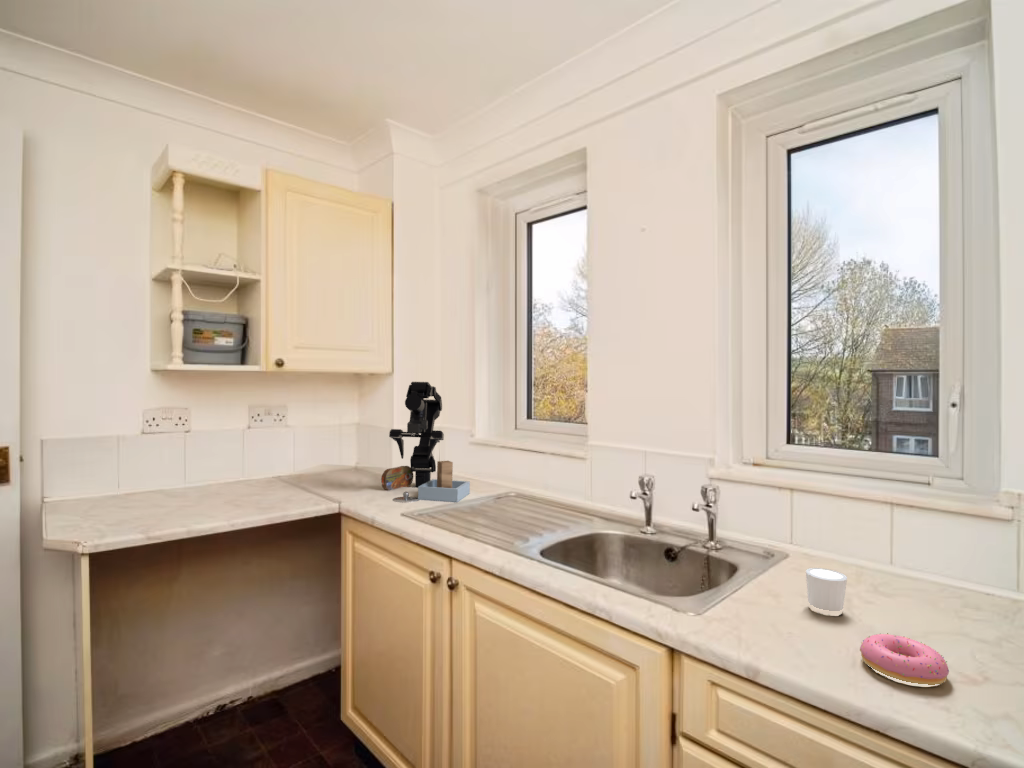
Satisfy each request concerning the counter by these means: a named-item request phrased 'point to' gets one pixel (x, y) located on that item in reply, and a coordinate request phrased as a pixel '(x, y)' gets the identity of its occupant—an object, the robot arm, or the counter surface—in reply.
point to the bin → (444, 491)
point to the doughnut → (904, 659)
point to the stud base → (405, 498)
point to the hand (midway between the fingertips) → (415, 458)
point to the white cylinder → (826, 588)
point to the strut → (444, 474)
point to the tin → (397, 477)
